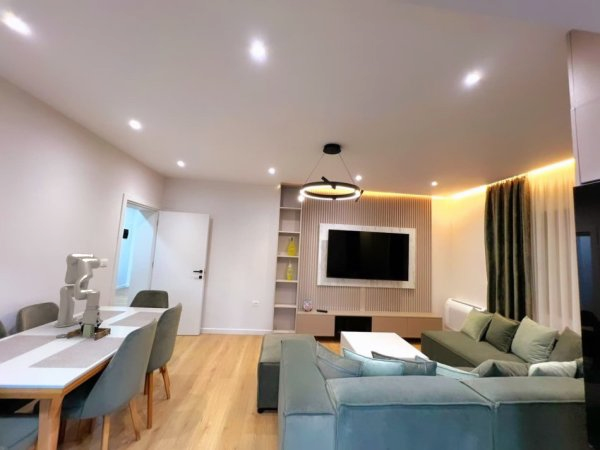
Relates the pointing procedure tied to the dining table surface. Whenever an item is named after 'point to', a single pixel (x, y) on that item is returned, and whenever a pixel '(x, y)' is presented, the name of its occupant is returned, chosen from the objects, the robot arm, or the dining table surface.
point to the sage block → (88, 330)
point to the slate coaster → (61, 336)
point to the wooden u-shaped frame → (98, 335)
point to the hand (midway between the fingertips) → (89, 331)
